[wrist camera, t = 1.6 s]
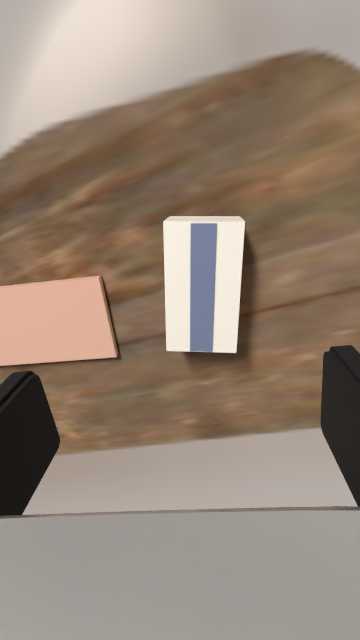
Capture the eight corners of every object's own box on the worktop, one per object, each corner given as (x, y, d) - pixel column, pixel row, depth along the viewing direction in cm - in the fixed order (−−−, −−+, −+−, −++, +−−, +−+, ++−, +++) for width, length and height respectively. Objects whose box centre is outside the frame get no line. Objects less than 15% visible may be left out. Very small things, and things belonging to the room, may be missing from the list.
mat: (101, 275, 26) (98, 277, 25) (118, 353, 28) (116, 357, 28) (-59, 292, 28) (-64, 294, 27) (-29, 364, 30) (-33, 368, 30)
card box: (239, 216, 24) (245, 221, 20) (232, 330, 27) (236, 353, 23) (170, 215, 24) (163, 221, 20) (172, 328, 27) (166, 351, 24)
